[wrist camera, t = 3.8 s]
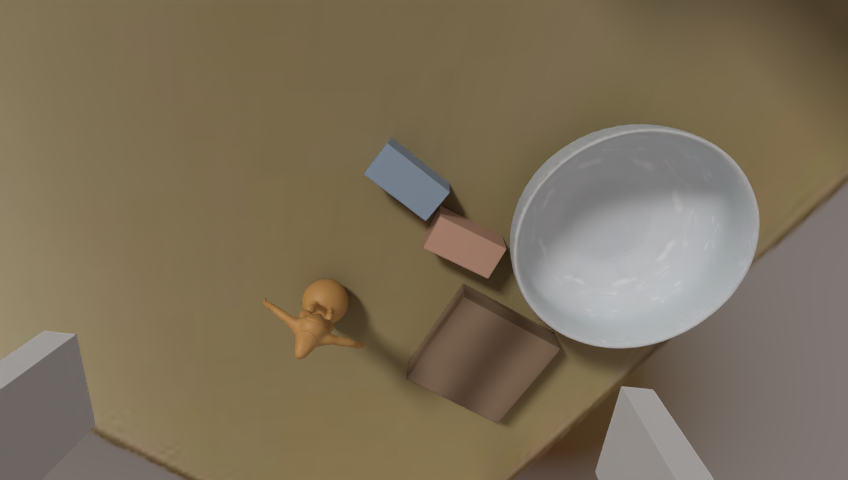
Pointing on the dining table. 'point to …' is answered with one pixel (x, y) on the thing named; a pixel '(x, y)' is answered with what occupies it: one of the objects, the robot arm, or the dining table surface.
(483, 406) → the walnut plinth
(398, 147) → the slate-blue brick
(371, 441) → the dining table surface
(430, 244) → the terracotta brick
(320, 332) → the figurine
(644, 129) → the cereal bowl
